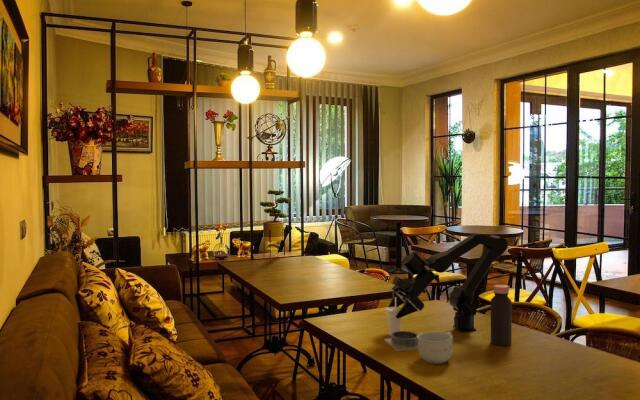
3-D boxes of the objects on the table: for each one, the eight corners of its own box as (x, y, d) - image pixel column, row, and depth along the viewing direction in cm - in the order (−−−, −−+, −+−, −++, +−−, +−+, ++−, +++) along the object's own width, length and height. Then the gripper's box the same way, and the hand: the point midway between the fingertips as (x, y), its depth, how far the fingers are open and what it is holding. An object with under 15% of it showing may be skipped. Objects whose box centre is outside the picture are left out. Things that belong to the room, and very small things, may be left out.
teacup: (432, 369, 150) (432, 343, 150) (410, 358, 159) (410, 333, 159) (467, 361, 156) (467, 335, 156) (443, 350, 166) (443, 326, 166)
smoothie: (398, 338, 179) (397, 300, 178) (382, 335, 182) (382, 297, 182) (406, 334, 184) (406, 296, 183) (391, 331, 188) (390, 294, 187)
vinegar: (514, 342, 173) (514, 285, 172) (506, 347, 168) (506, 289, 167) (495, 338, 177) (495, 283, 176) (487, 343, 172) (487, 286, 171)
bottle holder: (412, 338, 179) (412, 329, 179) (427, 347, 169) (427, 338, 168) (384, 341, 176) (384, 332, 176) (397, 351, 165) (397, 341, 165)
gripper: (396, 264, 192) (369, 294, 190) (415, 273, 174) (385, 306, 172) (415, 283, 194) (388, 313, 192) (436, 294, 176) (407, 327, 174)
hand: (392, 314), depth 183 cm, fingers open, 9 cm apart
